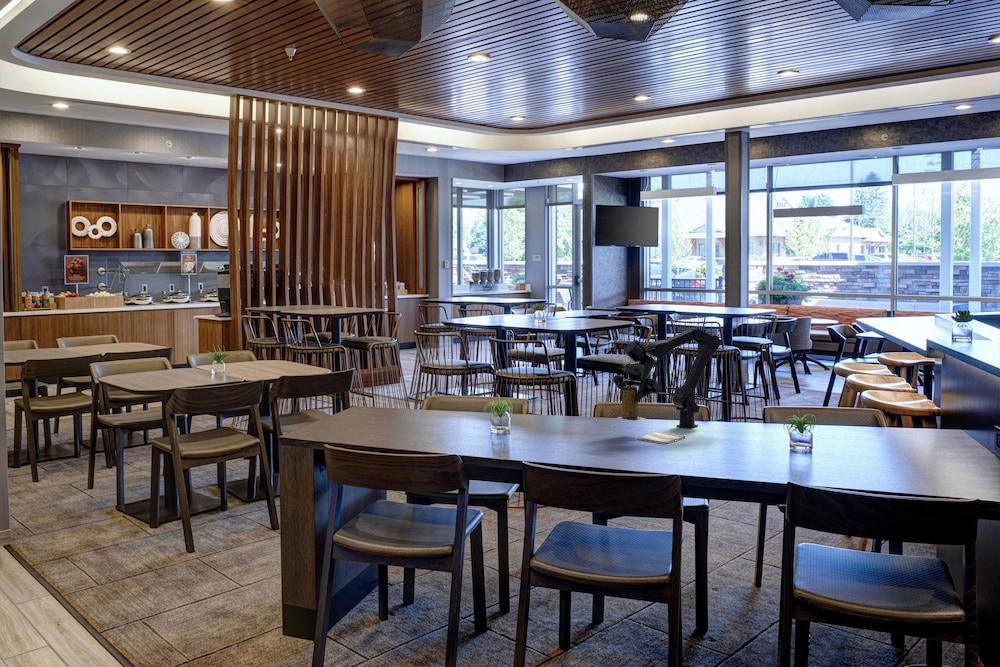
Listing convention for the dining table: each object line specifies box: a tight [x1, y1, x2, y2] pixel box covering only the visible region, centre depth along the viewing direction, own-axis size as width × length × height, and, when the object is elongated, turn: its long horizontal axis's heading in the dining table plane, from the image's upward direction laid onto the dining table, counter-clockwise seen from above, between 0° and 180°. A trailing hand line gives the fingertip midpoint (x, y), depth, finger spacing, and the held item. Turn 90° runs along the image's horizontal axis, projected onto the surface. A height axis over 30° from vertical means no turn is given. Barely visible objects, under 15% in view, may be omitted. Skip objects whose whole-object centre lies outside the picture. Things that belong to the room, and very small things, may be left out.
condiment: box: [616, 385, 647, 422], centre depth 303 cm, size 7×8×12 cm
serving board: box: [636, 431, 686, 445], centre depth 297 cm, size 14×12×1 cm
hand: (627, 401), depth 302 cm, fingers closed on condiment, 6 cm apart
